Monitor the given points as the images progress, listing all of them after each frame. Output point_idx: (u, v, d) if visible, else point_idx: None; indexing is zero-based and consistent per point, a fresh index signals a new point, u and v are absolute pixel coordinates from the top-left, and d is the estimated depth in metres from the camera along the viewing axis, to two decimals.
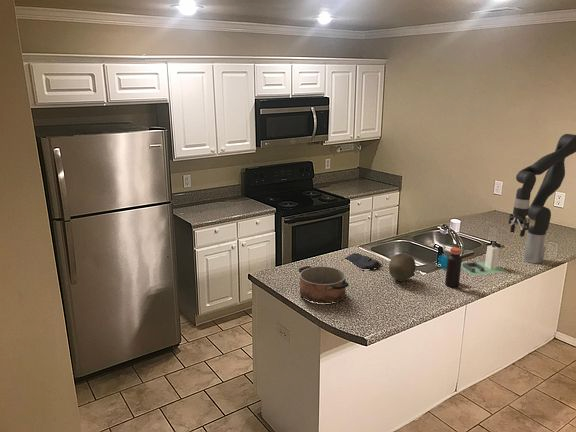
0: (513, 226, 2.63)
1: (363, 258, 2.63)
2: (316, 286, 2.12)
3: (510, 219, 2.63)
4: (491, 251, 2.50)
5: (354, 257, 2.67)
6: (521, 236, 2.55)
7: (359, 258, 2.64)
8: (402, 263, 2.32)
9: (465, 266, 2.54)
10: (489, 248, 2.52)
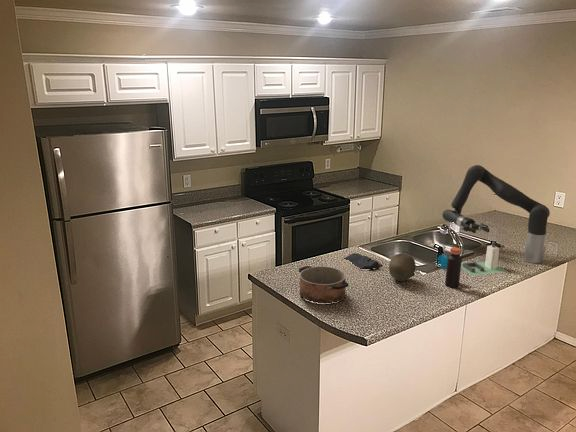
0: (484, 228, 2.65)
1: (362, 258, 2.63)
2: (316, 286, 2.12)
3: (483, 228, 2.69)
4: (491, 251, 2.50)
5: (353, 257, 2.67)
6: (474, 232, 2.60)
7: (358, 258, 2.64)
8: (402, 263, 2.32)
9: (465, 266, 2.54)
10: (489, 248, 2.52)
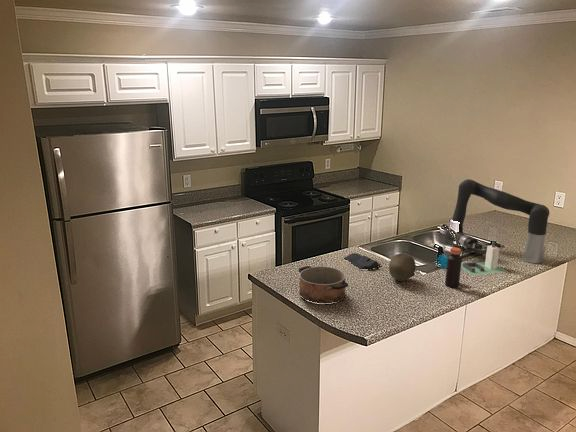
0: None
1: (362, 258, 2.63)
2: (315, 286, 2.12)
3: (486, 248, 2.68)
4: (491, 251, 2.50)
5: (353, 257, 2.67)
6: (477, 252, 2.59)
7: (358, 258, 2.64)
8: (402, 263, 2.32)
9: (465, 266, 2.54)
10: (489, 248, 2.52)
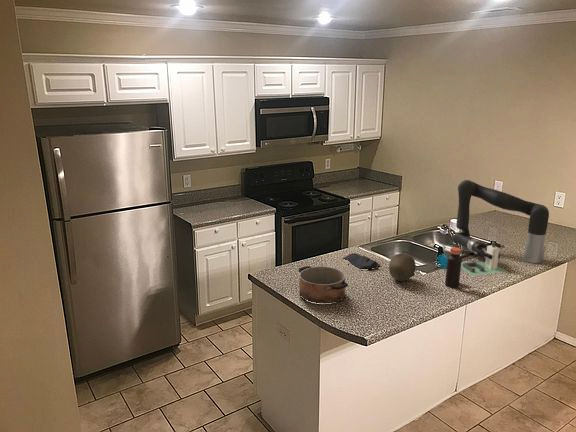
0: None
1: (361, 258, 2.63)
2: (315, 286, 2.12)
3: None
4: (491, 251, 2.50)
5: (352, 257, 2.67)
6: (491, 258, 2.50)
7: (357, 258, 2.64)
8: (402, 263, 2.32)
9: (465, 266, 2.54)
10: (489, 248, 2.52)
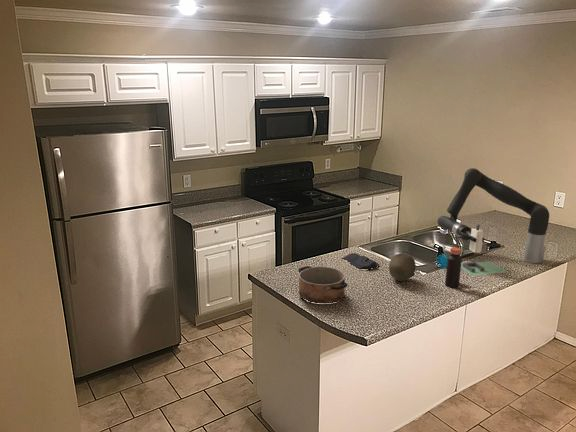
0: None
1: (360, 258, 2.63)
2: (315, 286, 2.12)
3: None
4: (475, 234, 2.45)
5: (351, 257, 2.67)
6: (475, 241, 2.45)
7: (356, 258, 2.64)
8: (402, 263, 2.32)
9: (465, 266, 2.54)
10: (473, 231, 2.47)
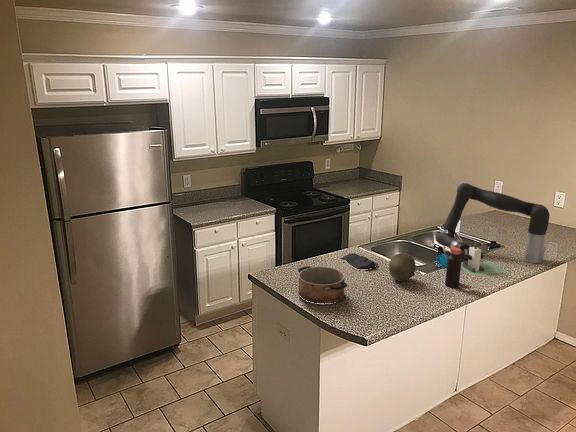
0: None
1: (359, 258, 2.63)
2: (314, 286, 2.12)
3: None
4: (473, 252, 2.48)
5: (350, 257, 2.67)
6: (470, 259, 2.48)
7: (355, 258, 2.64)
8: (402, 263, 2.32)
9: (465, 266, 2.54)
10: (471, 249, 2.50)
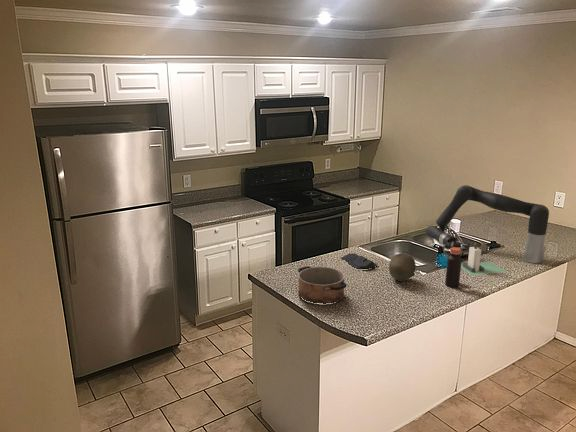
0: (465, 247, 2.65)
1: (358, 258, 2.63)
2: (314, 286, 2.12)
3: (464, 246, 2.70)
4: (473, 252, 2.48)
5: (349, 257, 2.67)
6: None
7: (354, 258, 2.64)
8: (402, 263, 2.32)
9: (465, 266, 2.54)
10: (471, 249, 2.50)
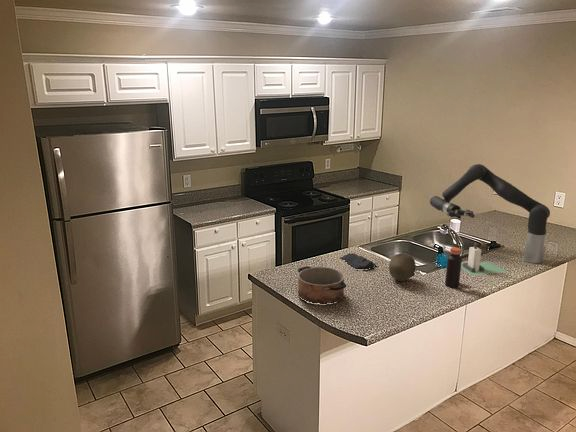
0: (469, 214, 2.68)
1: (358, 258, 2.63)
2: (313, 287, 2.12)
3: (468, 214, 2.73)
4: (473, 252, 2.48)
5: (349, 257, 2.67)
6: (459, 217, 2.64)
7: (354, 258, 2.64)
8: (402, 263, 2.32)
9: (465, 266, 2.54)
10: (471, 249, 2.50)
